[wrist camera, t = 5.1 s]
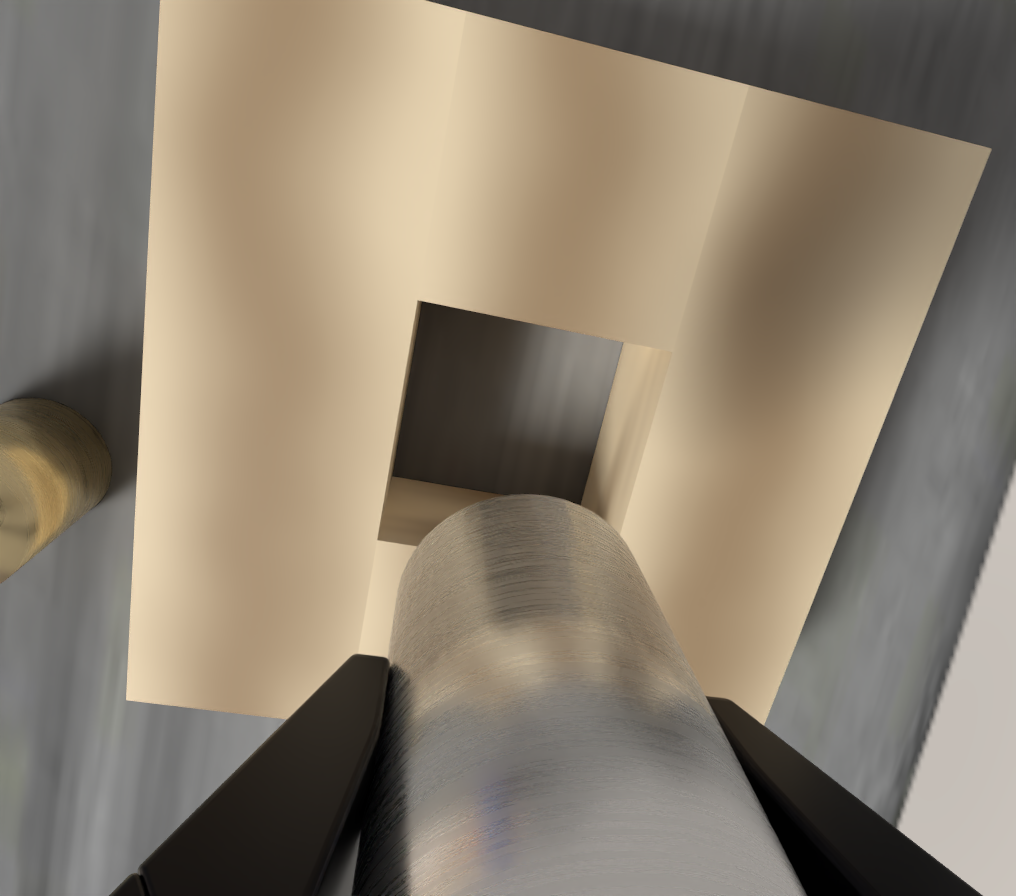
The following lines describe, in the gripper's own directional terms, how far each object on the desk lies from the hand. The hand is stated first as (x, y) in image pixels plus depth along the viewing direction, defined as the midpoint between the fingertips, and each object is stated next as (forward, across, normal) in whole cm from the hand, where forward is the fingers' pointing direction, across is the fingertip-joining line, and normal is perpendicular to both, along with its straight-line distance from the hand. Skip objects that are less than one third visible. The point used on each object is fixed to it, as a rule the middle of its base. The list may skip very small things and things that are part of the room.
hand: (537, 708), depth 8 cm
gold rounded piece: (+12, +12, +3) cm, 17 cm away
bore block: (+12, 0, 0) cm, 12 cm away
